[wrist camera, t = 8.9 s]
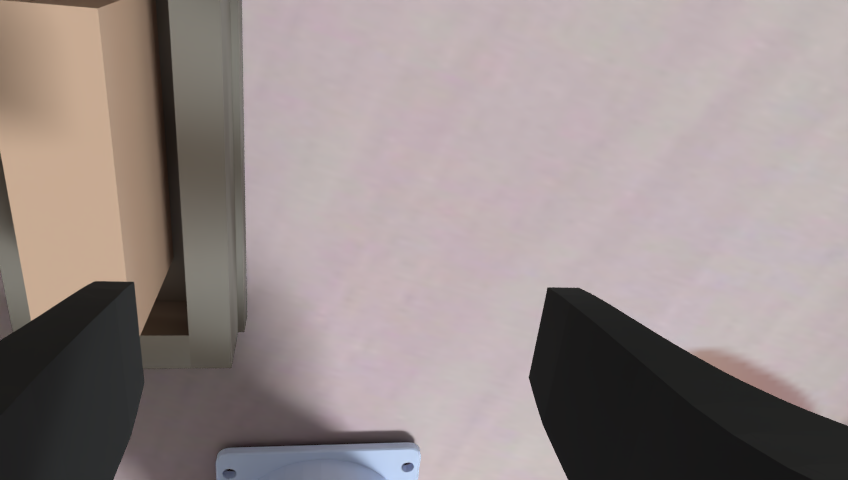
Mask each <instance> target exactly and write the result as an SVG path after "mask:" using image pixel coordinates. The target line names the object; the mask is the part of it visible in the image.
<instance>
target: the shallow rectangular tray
mask: <svg viewBox="0 0 848 480" xmlns="http://www.w3.org/2000/svg"><path fill="white" fill-rule="evenodd" d="M156 14H157V28H158V42H159V57H160V71H161V85H162V100H163V114H164V128H165V143H166V157H167V171H168V186H169V200H170V214H171V228H172V243H173V257H174V258H173V260H172V263H171V265H170V267H169V270H168V272H167V274H166V277H165V279H164V281H163V284H162V286H161V288H160V291H159V293H158V295H157V298H156V300H155V302H154V305H153V307H152V309H151V312H150V314H149V316H148V319H147V321H146V323H145V326H144V328H143V330H142V332H141V335H140V345H141V355H142V365H143V369H165V368H231V367H232V362H233V356H234V351H235V346H236V340H237V335H238V332H244V330H245V325H246V319H247V290H246V230H245V171H244V111H243V51H242V0H156ZM0 270H1V275H2V280H3V285H4V291H5V296H6V301H7V306H8V311H9V316H10V321H11V326H12V331H13V332H15V331H16V330H18V329H19V328H21V327H23V326H24V325H26V324H27V323H29V322H30V321H31V317H30V312H29V306H28V301H27V295H26V290H25V285H24V279H23V274H22V268H21V263H20V257H19V252H18V246H17V241H16V235H15V230H14V224H13V219H12V213H11V208H10V202H9V197H8V191H7V186H6V180H5V175H4V169H3V164H2V159H1V153H0Z"/></svg>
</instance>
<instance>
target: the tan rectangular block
mask: <svg viewBox="0 0 848 480" xmlns="http://www.w3.org/2000/svg"><path fill="white" fill-rule="evenodd" d="M0 153H1V159H2V164H3V169H4V175H5V180H6V186H7V191H8V197H9V202H10V208H11V213H12V219H13V224H14V230H15V235H16V241H17V246H18V252H19V257H20V263H21V268H22V274H23V279H24V285H25V290H26V295H27V301H28V306H29V312H30V317H31V321H32V320H33V319H35V318H37V317H38V316H40V315H41V314H43V313H44V312H46V311H47V310H49V309H50V308H52V307H53V306H55V305H57V304H58V303H60V302H61V301H63V300H64V299H66V298H67V297H69V296H70V295H72V294H73V293H75V292H77V291H78V290H80V289H82V288H83V287H85V286H87V285H88V284H90V283H92V282H94V281H121V282H134V285H135V295H136V305H137V315H138V325H139V335H141V332H142V330H143V328H144V326H145V323H146V321H147V319H148V316H149V314H150V312H151V309H152V307H153V305H154V302H155V300H156V298H157V295H158V293H159V291H160V288H161V286H162V284H163V281H164V279H165V277H166V274H167V272H168V270H169V267H170V265H171V263H172V260H173V258H174V257H173V243H172V228H171V214H170V200H169V186H168V171H167V157H166V143H165V128H164V114H163V100H162V85H161V71H160V57H159V42H158V28H157V14H156V0H0Z"/></svg>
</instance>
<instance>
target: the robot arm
mask: <svg viewBox="0 0 848 480" xmlns="http://www.w3.org/2000/svg"><path fill="white" fill-rule="evenodd" d="M529 380H530V383H531V387H532V391H533V394H534V398H535V401H536V405H537V408H538V411H539V414H540V417H541V420H542V423H543V426H544V428H545V430H546V433H547V435H548V437H549V439H550V442H551V444H552V446H553V448H554V450H555V453H556V455H557V457H558V459H559V461H560V463H561V465H562V468H563V470H564V472H565V474H566V476H567V478H568V480H848V426H846V425H844V424H841V423H839V422H836V421H833V420H831V419H828V418H826V417H823V416H820V415H818V414H815V413H813V412H810V411H807V410H805V409H803V408H800V407H798V406H796V405H793V404H791V403H788V402H786V401H784V400H782V399H779V398H777V397H775V396H773V395H771V394H769V393H766V392H764V391H762V390H760V389H758V388H756V387H753V386H751V385H749V384H747V383H745V382H743V381H741V380H739V379H737V378H735V377H733V376H731V375H729V374H727V373H725V372H723V371H721V370H719V369H718V368H716V367H714V366H712V365H710V364H709V363H707V362H705V361H703V360H701V359H699V358H698V357H696V356H694V355H692V354H690V353H689V352H687V351H685V350H683V349H682V348H680V347H678V346H677V345H675V344H673V343H672V342H670V341H668V340H667V339H665V338H663V337H662V336H660V335H658V334H657V333H655V332H653V331H652V330H650V329H648V328H647V327H645V326H644V325H642V324H640V323H639V322H637V321H636V320H634V319H632V318H631V317H629V316H627V315H626V314H624V313H623V312H621V311H619V310H618V309H616V308H615V307H613V306H611V305H610V304H608V303H606V302H605V301H603V300H601V299H599V298H598V297H596V296H594V295H592V294H590V293H588V292H586V291H584V290H582V289H580V288H547V293H546V298H545V303H544V308H543V312H542V317H541V322H540V327H539V332H538V336H537V341H536V346H535V351H534V356H533V360H532V365H531V370H530V375H529ZM143 386H144V375H143V365H142V355H141V345H140V335H139V325H138V315H137V305H136V295H135V285H134V282H121V281H94V282H92V283H90V284H88V285H87V286H85V287H83V288H82V289H80V290H78V291H77V292H75V293H73V294H72V295H70V296H69V297H67V298H66V299H64V300H63V301H61V302H60V303H58V304H57V305H55V306H53V307H52V308H50V309H49V310H47V311H46V312H44V313H43V314H41V315H40V316H38V317H37V318H35V319H33V320H32V321H30V322H29V323H27V324H26V325H24V326H23V327H21V328H19V329H18V330H16V331H15V332H13V333H12V334H10V335H8V336H7V337H5V338H4V339H2V340H0V480H113V479H114V476H115V474H116V471H117V469H118V466H119V464H120V462H121V459H122V457H123V454H124V452H125V449H126V447H127V444H128V441H129V439H130V436H131V433H132V429H133V426H134V422H135V418H136V414H137V411H138V407H139V402H140V398H141V394H142V390H143ZM420 459H421V455H420V449H419V447H418V445H416V444H414V443H410V442H402V443H369V444H337V445H304V446H271V447H238V448H226V449H223V450H221V451H220V452H219V453H218V455H217V459H216V480H418V474H419V466H420ZM407 462H409V463H410V464H408V465H403V464H404V463H407ZM226 469H233V470H234V471H226Z"/></svg>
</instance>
